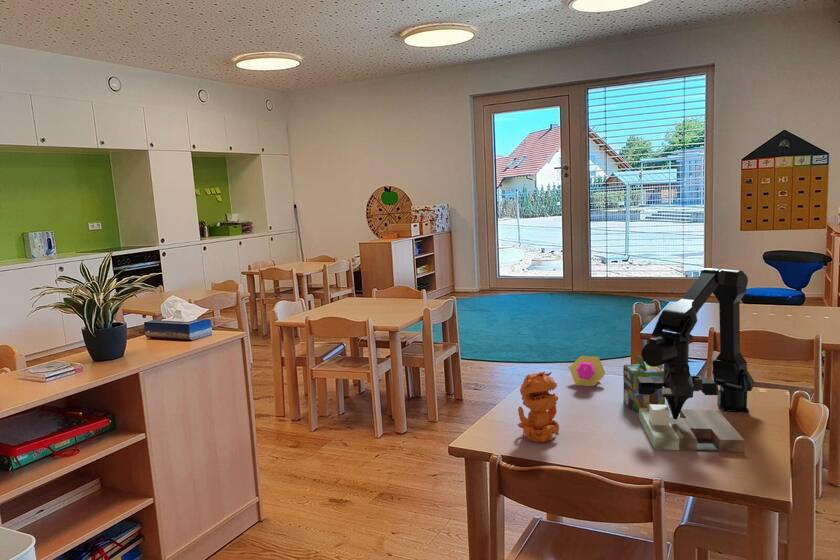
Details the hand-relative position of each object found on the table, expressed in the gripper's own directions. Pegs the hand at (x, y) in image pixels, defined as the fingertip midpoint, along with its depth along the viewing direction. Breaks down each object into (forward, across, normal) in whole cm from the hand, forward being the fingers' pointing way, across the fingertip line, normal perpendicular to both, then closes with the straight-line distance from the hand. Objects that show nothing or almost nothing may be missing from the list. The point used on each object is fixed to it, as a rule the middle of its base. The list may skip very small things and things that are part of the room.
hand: (674, 418), depth 153 cm
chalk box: (+4, -4, +20) cm, 21 cm away
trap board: (+4, +3, 0) cm, 5 cm away
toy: (+4, -17, +41) cm, 44 cm away
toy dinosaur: (+4, -34, -5) cm, 35 cm away
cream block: (+1, -4, 0) cm, 4 cm away
